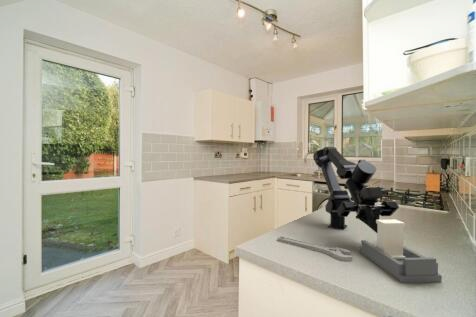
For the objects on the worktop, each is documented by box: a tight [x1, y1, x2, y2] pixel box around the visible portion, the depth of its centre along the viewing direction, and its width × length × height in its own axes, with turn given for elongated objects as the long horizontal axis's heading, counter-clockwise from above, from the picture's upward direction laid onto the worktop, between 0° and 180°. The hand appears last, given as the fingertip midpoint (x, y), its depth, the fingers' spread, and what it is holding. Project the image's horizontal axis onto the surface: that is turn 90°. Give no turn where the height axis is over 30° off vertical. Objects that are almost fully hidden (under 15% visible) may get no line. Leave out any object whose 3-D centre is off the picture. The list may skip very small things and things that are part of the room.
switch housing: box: [358, 239, 443, 284], centre depth 65 cm, size 18×10×6 cm, turn 2°
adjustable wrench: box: [277, 235, 354, 262], centre depth 77 cm, size 25×6×2 cm, turn 46°
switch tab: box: [376, 218, 406, 259], centre depth 67 cm, size 5×6×10 cm
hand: (378, 232), depth 72 cm, fingers closed
